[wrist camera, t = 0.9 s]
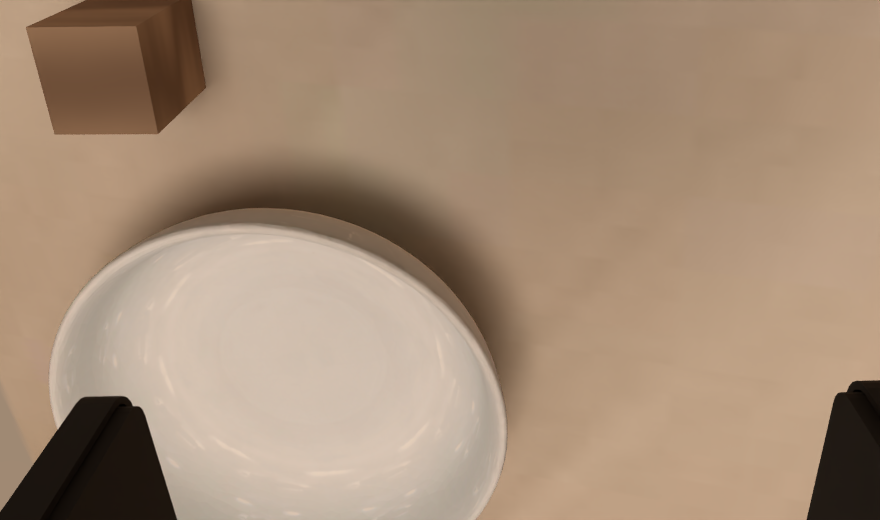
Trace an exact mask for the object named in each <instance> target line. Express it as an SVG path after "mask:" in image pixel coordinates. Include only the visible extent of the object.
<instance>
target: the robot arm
mask: <svg viewBox="0 0 880 520" xmlns="http://www.w3.org/2000/svg"><path fill="white" fill-rule="evenodd" d="M0 520H177V517H176V514H175V511H174V507H173V504H172V501H171V498H170V494H169V491H168V488H167V485H166V481H165V478H164V475H163V472H162V468H161V465H160V462H159V459H158V455H157V452H156V449H155V446H154V442H153V439H152V436H151V433H150V429H149V426H148V423H147V420H146V416H145V414H144V411H143V409H142V408H141V407H139V406H133V405H132V403H131V401H130V400H129V399H128V398H127V397H125V396H93V397H83V398H81V399H80V400H79V401H78V402H77V403H76V404H75V406H74V407H73V408H72V410H71V411H70V413H69V414H68V416H67V417H66V418H65V420H64V421H63V423H62V424H61V426H60V427H59V429H58V430H57V431H56V433H55V434H54V436H53V437H52V439H51V440H50V442H49V443H48V444H47V446H46V447H45V449H44V450H43V452H42V453H41V454H40V456H39V457H38V459H37V460H36V462H35V463H34V465H33V466H32V467H31V469H30V470H29V472H28V473H27V475H26V476H25V477H24V479H23V480H22V482H21V483H20V485H19V486H18V488H17V489H16V490H15V492H14V493H13V495H12V496H11V498H10V499H9V501H8V502H7V503H6V505H5V506H4V508H3V509H2V510H1V512H0ZM807 520H880V380H878V381H855V382H852V383H851V385H850V386H849V388H848V390H847V392H841V393H838V394H837V395H836V396H835V399H834V402H833V407H832V411H831V415H830V420H829V424H828V429H827V433H826V437H825V442H824V446H823V450H822V455H821V459H820V464H819V468H818V472H817V477H816V481H815V486H814V490H813V494H812V499H811V503H810V508H809V512H808V516H807Z"/></svg>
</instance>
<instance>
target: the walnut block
mask: <svg viewBox="0 0 880 520" xmlns="http://www.w3.org/2000/svg"><path fill="white" fill-rule="evenodd" d="M26 30H27V33H28V37H29V41H30V44H31V48H32V52H33V56H34V59H35V63H36V67H37V70H38V74H39V78H40V82H41V85H42V89H43V93H44V96H45V100H46V104H47V107H48V111H49V115H50V119H51V122H52V126H53V130H54V133H55V134H159V133H160V132H161V131H162V130H163V129H164V128H165V127H166V126H167V125H168V124H169V123H170V122H171V121H172V120H173V119H174V118H175V117H176V116H177V115H178V114H179V113H180V112H181V111H182V110H183V109H184V108H185V107H186V106H187V105H188V104H189V103H190V102H192V101H193V100H194V99H195V98H196V97H197V96H198V95H199V94H200V93H201V92H202V91H203V90H204V89H205V88H206V85H205V79H204V73H203V67H202V61H201V55H200V49H199V43H198V37H197V31H196V25H195V19H194V13H193V7H192V1H191V0H85V1H83V2H81V3H79V4H77V5H74V6H72V7H70V8H68V9H65V10H63V11H61V12H59V13H57V14H54V15H52V16H50V17H48V18H46V19H43V20H41V21H39V22H37V23H35V24H32V25H30V26H28V27H26Z"/></svg>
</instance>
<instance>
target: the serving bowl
mask: <svg viewBox="0 0 880 520" xmlns="http://www.w3.org/2000/svg"><path fill="white" fill-rule="evenodd" d="M49 394H50V403H51V408H52V412H53V416H54V421H55V424H56V427H57V430H58V429H59V427H60V426H61V424H62V423H63V421H64V420H65V418H66V417H67V416H68V414H69V413H70V411H71V410H72V408H73V407H74V406H75V404H76V403H77V402H78V401H79V400H80V399H81V398H83V397H93V396H125V397H127V398H128V399H129V400H130V401H131V403H132V405H133V406H139V407H141V408H142V409H143V411H144V414H145V416H146V420H147V423H148V426H149V429H150V433H151V436H152V439H153V442H154V446H155V449H156V452H157V455H158V459H159V462H160V465H161V468H162V472H163V475H164V478H165V481H166V485H167V488H168V491H169V494H170V498H171V501H172V504H173V507H174V511H175V514H176V517H177V520H476V519H477V518H478V516H479V515H480V514H481V512H482V511H483V509H484V508H485V506H486V505H487V503H488V501H489V500H490V498H491V496H492V494H493V492H494V490H495V488H496V485H497V483H498V480H499V478H500V475H501V472H502V469H503V465H504V461H505V456H506V450H507V415H506V407H505V402H504V397H503V393H502V388H501V384H500V380H499V377H498V374H497V371H496V367H495V364H494V361H493V359H492V356H491V353H490V351H489V349H488V346H487V344H486V342H485V340H484V338H483V336H482V334H481V332H480V330H479V328H478V326H477V325H476V323H475V322H474V320H473V319H472V317H471V315H470V314H469V312H468V311H467V309H466V308H465V307H464V305H463V304H462V303H461V301H460V300H459V299H458V298H457V296H456V295H455V294H454V293H453V292H452V290H451V289H450V288H449V287H448V286H447V285H446V284H445V283H444V282H443V281H442V280H441V279H440V278H439V277H438V276H437V275H436V274H435V273H434V272H433V271H432V270H430V269H429V268H428V267H427V266H426V265H424V264H423V263H422V262H421V261H419V260H418V259H417V258H416V257H414V256H413V255H411V254H410V253H408V252H407V251H405V250H404V249H402V248H401V247H399V246H398V245H396V244H394V243H392V242H391V241H389V240H387V239H386V238H384V237H382V236H380V235H378V234H376V233H374V232H371V231H369V230H367V229H364V228H362V227H360V226H357V225H354V224H351V223H349V222H346V221H343V220H340V219H336V218H333V217H329V216H325V215H321V214H317V213H311V212H306V211H300V210H292V209H278V208H246V209H236V210H228V211H222V212H217V213H212V214H207V215H203V216H199V217H196V218H193V219H190V220H187V221H184V222H181V223H178V224H175V225H173V226H170V227H168V228H166V229H164V230H162V231H160V232H158V233H156V234H154V235H152V236H150V237H148V238H146V239H144V240H142V241H141V242H139V243H137V244H136V245H134V246H133V247H131V248H130V249H128V250H127V251H125V252H124V253H122V254H120V255H119V256H118V257H116V258H115V259H113V260H112V261H111V262H109V263H108V264H107V265H105V266H104V267H103V268H102V269H101V270H100V271H99V272H98V273H97V274H96V275H94V276H93V277H92V278H91V279H90V280H89V281H88V283H87V284H86V285H85V286H84V287H83V288H82V289H81V291H80V292H79V293H78V295H77V296H76V298H75V299H74V301H73V302H72V304H71V305H70V307H69V308H68V310H67V312H66V314H65V316H64V318H63V320H62V322H61V324H60V326H59V329H58V332H57V334H56V337H55V341H54V344H53V348H52V353H51V359H50V366H49Z"/></svg>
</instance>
